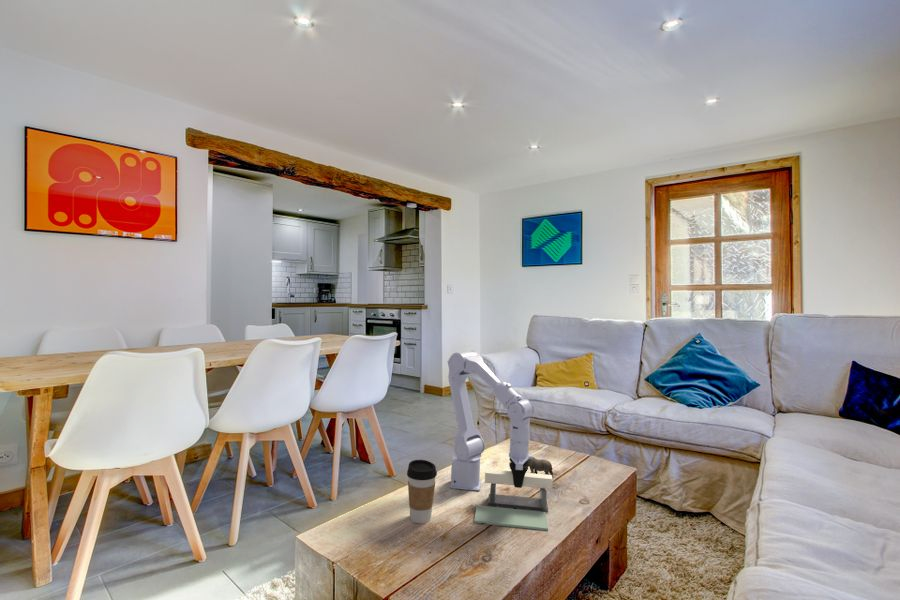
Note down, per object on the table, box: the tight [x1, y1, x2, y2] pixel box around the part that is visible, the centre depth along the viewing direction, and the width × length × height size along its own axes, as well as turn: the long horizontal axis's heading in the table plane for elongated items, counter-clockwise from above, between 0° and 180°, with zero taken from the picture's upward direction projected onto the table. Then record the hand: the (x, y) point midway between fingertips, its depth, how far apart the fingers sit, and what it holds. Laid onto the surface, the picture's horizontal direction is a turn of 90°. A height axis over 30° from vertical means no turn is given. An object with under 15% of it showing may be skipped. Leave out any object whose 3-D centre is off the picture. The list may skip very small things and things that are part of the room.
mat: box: [473, 504, 549, 532], centre depth 122 cm, size 20×9×1 cm, turn 82°
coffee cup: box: [406, 459, 438, 524], centre depth 120 cm, size 8×8×15 cm
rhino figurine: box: [526, 456, 554, 479], centre depth 153 cm, size 4×14×6 cm, turn 59°
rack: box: [487, 483, 549, 513], centre depth 130 cm, size 18×7×6 cm, turn 82°
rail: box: [484, 468, 554, 490], centre depth 130 cm, size 20×3×3 cm, turn 82°
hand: (517, 484), depth 130 cm, fingers closed on rail, 3 cm apart
